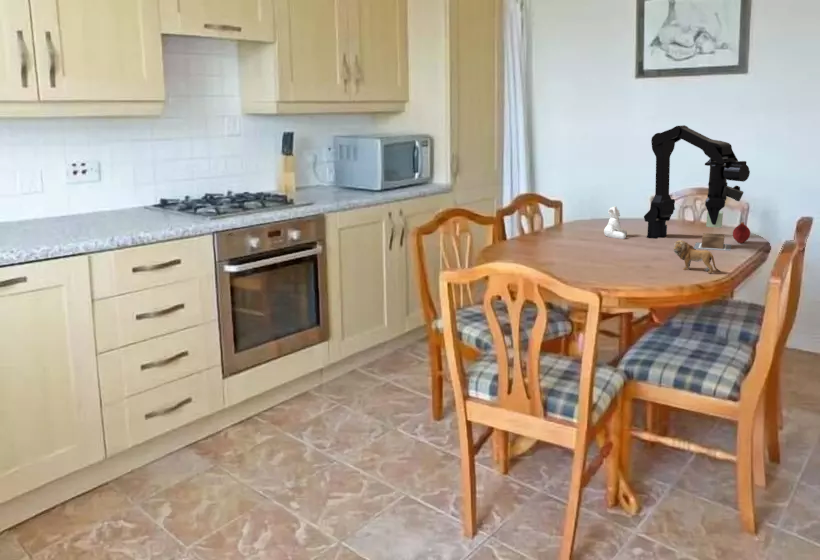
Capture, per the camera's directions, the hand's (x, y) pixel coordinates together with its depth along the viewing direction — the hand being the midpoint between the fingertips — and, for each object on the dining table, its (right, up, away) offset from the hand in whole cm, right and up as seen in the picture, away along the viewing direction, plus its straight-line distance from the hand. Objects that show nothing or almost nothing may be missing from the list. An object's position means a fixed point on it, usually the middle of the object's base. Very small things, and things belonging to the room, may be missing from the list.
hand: (714, 223), depth 256 cm
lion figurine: (-19, -17, -30) cm, 40 cm away
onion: (+13, -7, +7) cm, 16 cm away
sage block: (0, -1, 0) cm, 1 cm away
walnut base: (0, -8, +2) cm, 8 cm away
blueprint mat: (0, -9, +2) cm, 9 cm away
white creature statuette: (-28, -3, +27) cm, 39 cm away
